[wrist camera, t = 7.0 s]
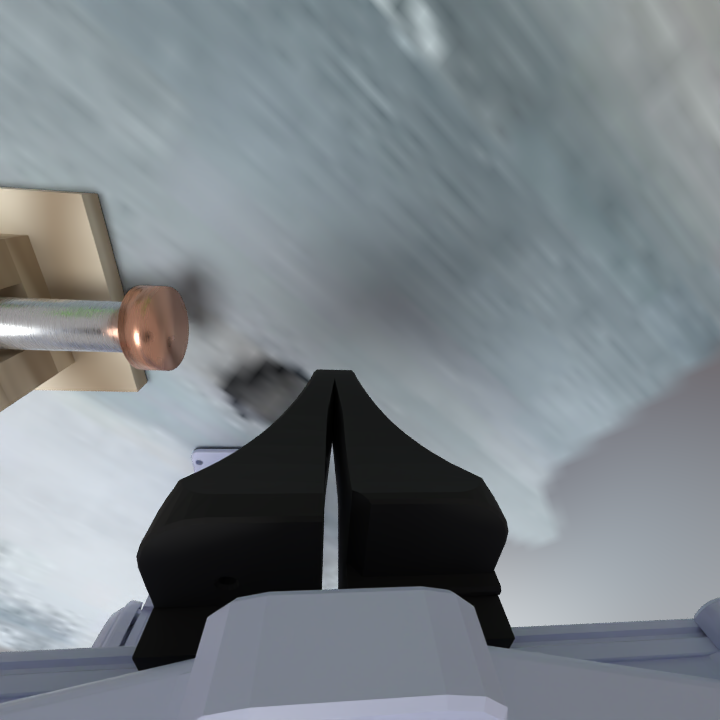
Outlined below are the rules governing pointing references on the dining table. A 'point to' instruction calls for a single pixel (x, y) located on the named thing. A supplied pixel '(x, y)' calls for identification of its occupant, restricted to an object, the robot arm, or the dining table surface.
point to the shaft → (102, 326)
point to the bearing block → (58, 288)
